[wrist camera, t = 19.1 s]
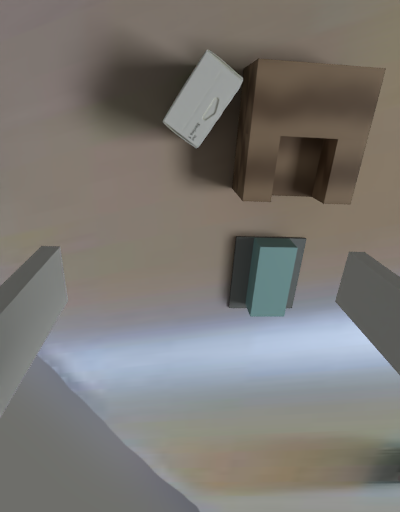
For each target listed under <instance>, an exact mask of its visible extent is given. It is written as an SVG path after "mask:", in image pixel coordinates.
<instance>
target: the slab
mask: <svg viewBox="0 0 400 512" xmlns="http://www.w3.org/2000/svg"><path fill="white" fill-rule="evenodd" d="M297 249H298V247H297V246H296V245H295V244H294V243H293V242H292V241H291V240H290V239H287V238H254V244H253V251H252V258H251V266H250V273H249V281H248V288H247V296H246V303H245V304H246V306H247V309H248V312H249V314H250V316H284V314H285V309H286V304H287V299H288V294H289V289H290V284H291V279H292V274H293V269H294V264H295V259H296V254H297Z"/></svg>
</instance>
